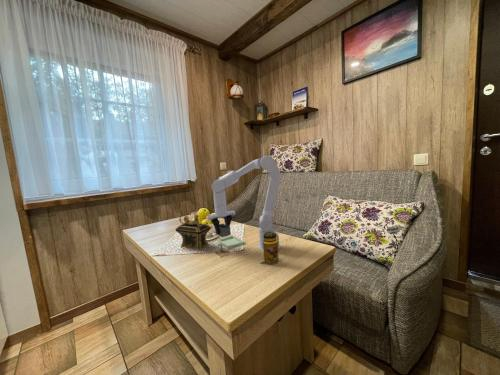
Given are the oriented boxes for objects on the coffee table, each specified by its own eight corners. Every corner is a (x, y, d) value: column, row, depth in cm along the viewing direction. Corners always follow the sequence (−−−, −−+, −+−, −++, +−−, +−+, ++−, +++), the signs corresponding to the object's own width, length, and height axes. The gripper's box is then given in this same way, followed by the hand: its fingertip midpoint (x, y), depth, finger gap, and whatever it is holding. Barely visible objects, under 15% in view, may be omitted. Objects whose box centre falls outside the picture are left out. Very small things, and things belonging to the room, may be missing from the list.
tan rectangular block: (233, 254, 98) (232, 246, 98) (221, 258, 95) (220, 250, 95) (224, 248, 106) (223, 241, 106) (213, 252, 103) (212, 244, 102)
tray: (244, 244, 109) (244, 241, 109) (228, 250, 104) (227, 246, 104) (233, 238, 120) (232, 235, 120) (217, 242, 115) (217, 239, 115)
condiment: (275, 267, 85) (273, 238, 83) (256, 263, 89) (254, 235, 88) (282, 259, 91) (280, 231, 90) (264, 256, 95) (262, 229, 94)
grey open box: (230, 234, 102) (230, 226, 102) (222, 237, 100) (221, 229, 99) (222, 230, 109) (222, 223, 109) (214, 232, 107) (214, 225, 107)
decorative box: (213, 244, 112) (210, 208, 110) (200, 252, 104) (196, 212, 101) (185, 240, 122) (182, 206, 120) (172, 246, 114) (167, 210, 111)
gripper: (229, 201, 110) (232, 226, 112) (202, 206, 102) (205, 233, 104) (236, 202, 104) (238, 229, 106) (208, 208, 96) (211, 237, 98)
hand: (222, 232), depth 104 cm, fingers closed on grey open box, 4 cm apart
